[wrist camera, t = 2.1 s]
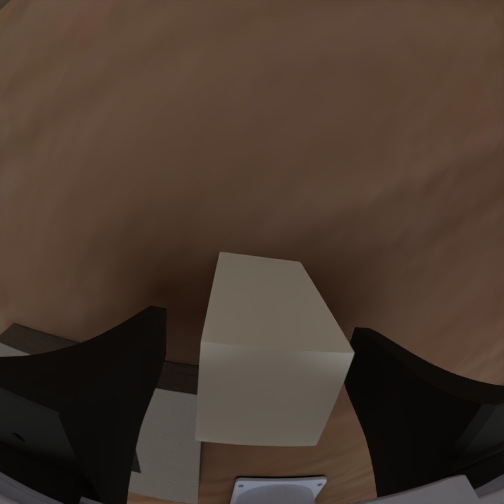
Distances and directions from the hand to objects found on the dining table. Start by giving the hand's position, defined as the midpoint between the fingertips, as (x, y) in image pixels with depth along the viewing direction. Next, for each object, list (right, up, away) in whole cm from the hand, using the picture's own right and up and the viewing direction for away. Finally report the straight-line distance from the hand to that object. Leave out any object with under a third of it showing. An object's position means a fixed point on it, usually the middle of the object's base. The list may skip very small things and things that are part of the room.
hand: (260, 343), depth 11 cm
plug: (0, +1, +5) cm, 5 cm away
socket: (-11, -9, +7) cm, 16 cm away
